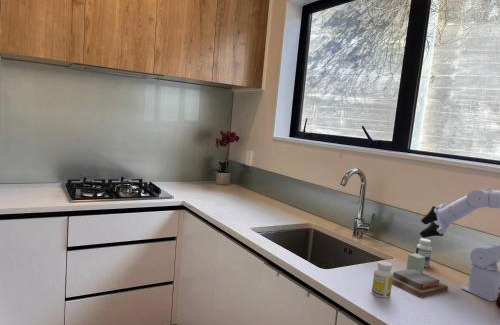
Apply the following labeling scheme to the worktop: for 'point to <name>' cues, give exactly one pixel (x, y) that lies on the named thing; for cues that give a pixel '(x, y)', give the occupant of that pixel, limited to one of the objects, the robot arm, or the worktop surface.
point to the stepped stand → (418, 282)
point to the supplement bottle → (382, 280)
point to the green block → (416, 262)
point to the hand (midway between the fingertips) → (422, 228)
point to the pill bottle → (424, 250)
